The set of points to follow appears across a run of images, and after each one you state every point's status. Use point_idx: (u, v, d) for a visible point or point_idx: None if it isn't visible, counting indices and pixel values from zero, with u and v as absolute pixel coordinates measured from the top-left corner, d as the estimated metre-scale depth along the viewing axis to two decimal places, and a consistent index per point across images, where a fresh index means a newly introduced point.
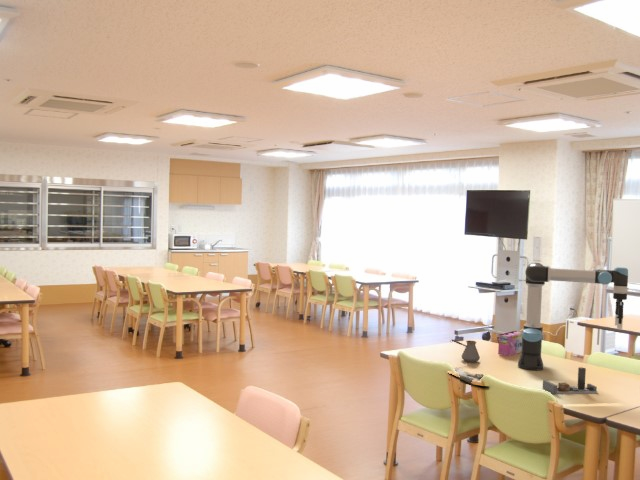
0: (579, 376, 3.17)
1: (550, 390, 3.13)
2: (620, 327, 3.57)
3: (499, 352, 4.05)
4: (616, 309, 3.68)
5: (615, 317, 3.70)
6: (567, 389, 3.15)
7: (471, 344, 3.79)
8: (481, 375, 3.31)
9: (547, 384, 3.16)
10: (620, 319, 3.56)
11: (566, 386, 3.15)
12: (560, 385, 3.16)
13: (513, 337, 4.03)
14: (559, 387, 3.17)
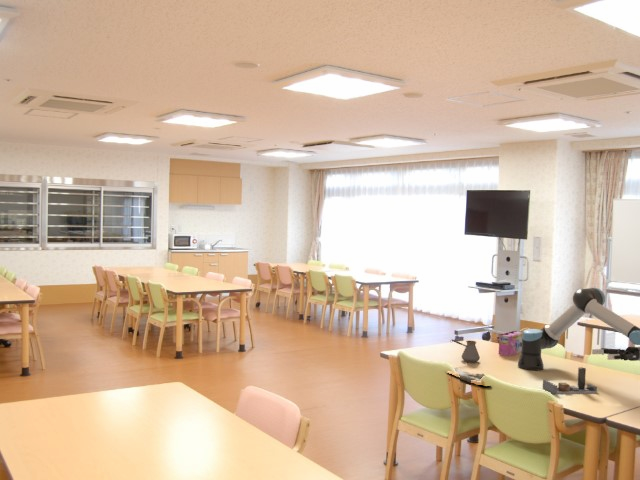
0: (579, 376, 3.17)
1: (550, 390, 3.13)
2: (610, 357, 3.13)
3: (499, 352, 4.04)
4: (612, 350, 3.25)
5: (601, 349, 3.27)
6: (567, 389, 3.15)
7: (471, 344, 3.79)
8: (482, 375, 3.31)
9: (547, 384, 3.16)
10: (620, 357, 3.12)
11: (566, 386, 3.15)
12: (560, 385, 3.16)
13: (513, 337, 4.03)
14: (559, 387, 3.17)
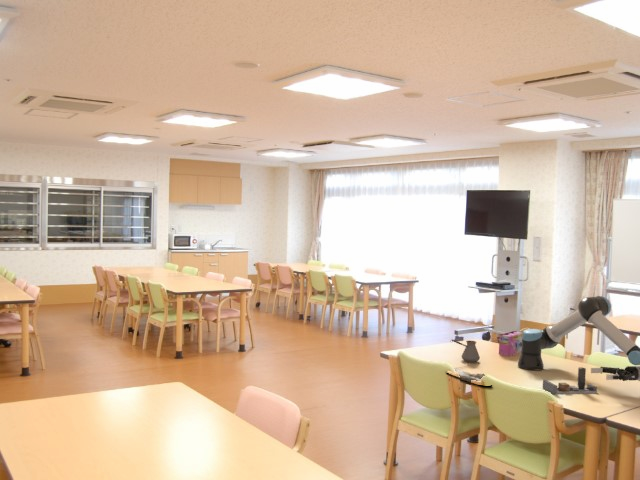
0: (579, 376, 3.17)
1: (550, 390, 3.13)
2: (608, 378, 3.12)
3: (500, 352, 4.04)
4: (611, 369, 3.25)
5: (600, 368, 3.26)
6: (567, 389, 3.15)
7: (471, 344, 3.79)
8: (483, 375, 3.32)
9: (547, 384, 3.16)
10: (619, 377, 3.12)
11: (566, 386, 3.15)
12: (560, 385, 3.16)
13: (513, 337, 4.03)
14: (559, 387, 3.17)
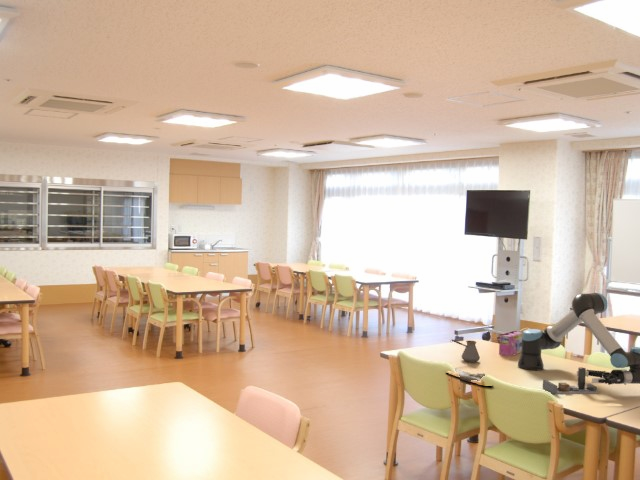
0: (579, 376, 3.17)
1: (550, 390, 3.13)
2: (594, 381, 3.11)
3: (500, 352, 4.04)
4: (597, 372, 3.23)
5: None
6: (567, 389, 3.15)
7: (471, 344, 3.79)
8: (484, 374, 3.32)
9: (547, 384, 3.16)
10: (604, 381, 3.10)
11: (566, 386, 3.15)
12: (560, 385, 3.16)
13: (514, 337, 4.03)
14: (559, 387, 3.17)
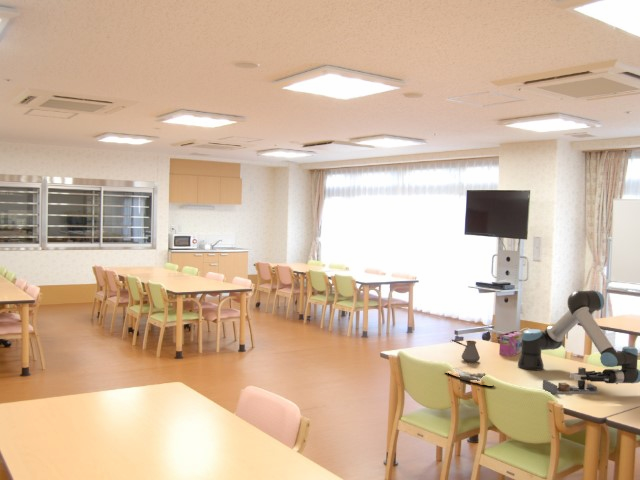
0: None
1: (550, 390, 3.13)
2: (576, 378, 3.15)
3: (500, 352, 4.04)
4: (590, 373, 3.20)
5: None
6: (567, 389, 3.15)
7: (471, 344, 3.79)
8: (484, 374, 3.32)
9: (547, 384, 3.16)
10: (586, 378, 3.14)
11: (566, 386, 3.15)
12: (560, 385, 3.16)
13: (514, 337, 4.03)
14: (559, 387, 3.17)
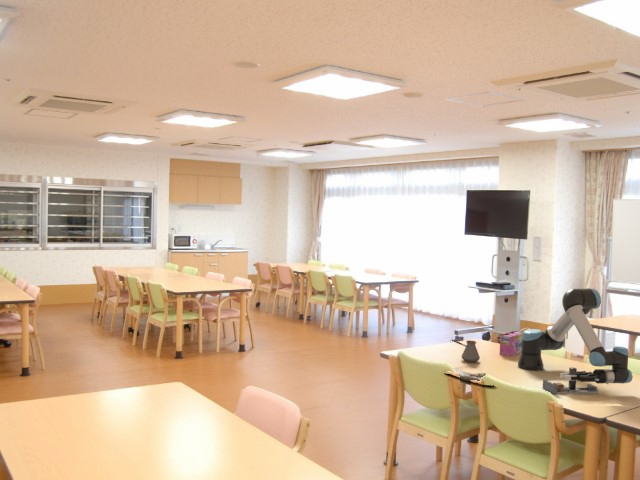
0: None
1: (550, 390, 3.13)
2: (567, 378, 3.14)
3: (500, 352, 4.03)
4: (580, 373, 3.19)
5: None
6: (561, 389, 3.14)
7: (471, 344, 3.79)
8: (484, 374, 3.33)
9: (547, 384, 3.16)
10: (577, 378, 3.13)
11: (560, 386, 3.14)
12: None
13: (514, 337, 4.03)
14: None
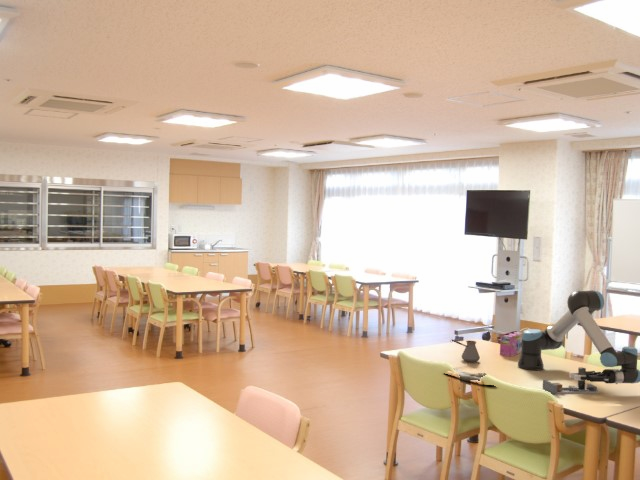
0: None
1: (550, 390, 3.13)
2: (576, 378, 3.15)
3: (501, 352, 4.03)
4: (590, 373, 3.20)
5: None
6: (560, 389, 3.14)
7: (471, 344, 3.79)
8: (485, 374, 3.33)
9: (547, 384, 3.16)
10: (586, 378, 3.14)
11: (559, 386, 3.14)
12: None
13: (514, 337, 4.02)
14: None
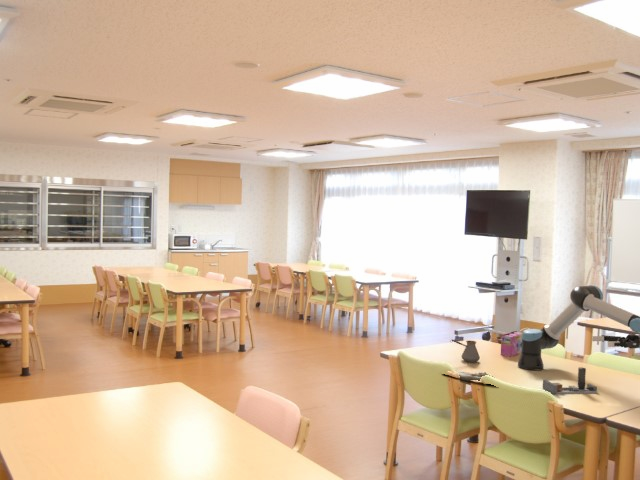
0: (579, 376, 3.17)
1: (550, 390, 3.13)
2: (610, 345, 3.11)
3: (501, 353, 4.03)
4: (612, 337, 3.24)
5: (601, 336, 3.25)
6: (560, 389, 3.14)
7: (471, 344, 3.79)
8: (486, 373, 3.35)
9: (547, 384, 3.16)
10: (620, 344, 3.11)
11: (559, 386, 3.14)
12: None
13: (515, 338, 4.02)
14: None
